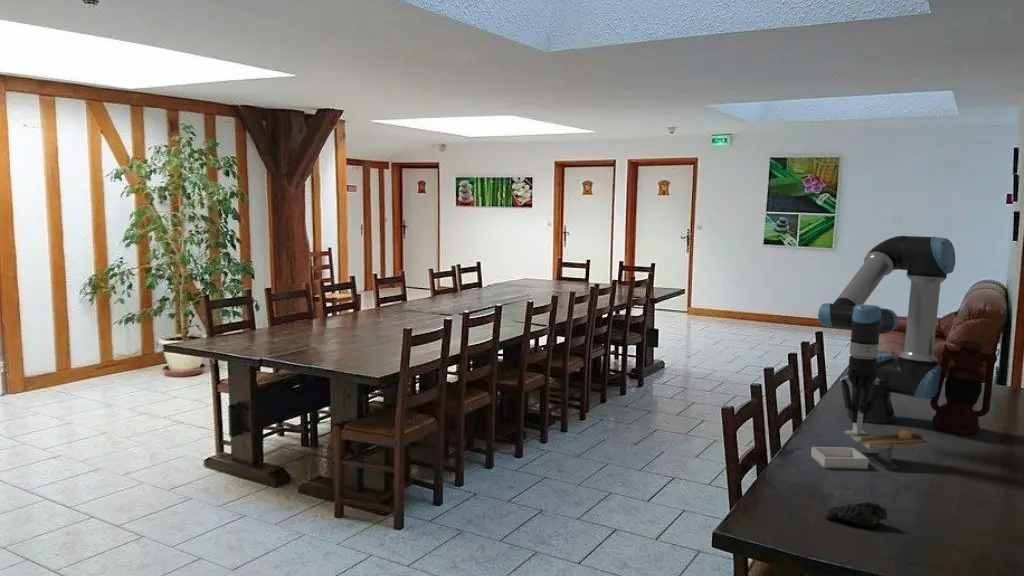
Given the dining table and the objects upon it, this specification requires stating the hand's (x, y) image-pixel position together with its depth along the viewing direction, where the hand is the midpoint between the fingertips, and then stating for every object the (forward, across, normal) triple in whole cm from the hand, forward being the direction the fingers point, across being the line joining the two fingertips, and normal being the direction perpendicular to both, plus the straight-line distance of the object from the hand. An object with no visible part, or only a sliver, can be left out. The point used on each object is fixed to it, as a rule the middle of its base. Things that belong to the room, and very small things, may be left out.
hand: (857, 433), depth 218 cm
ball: (-2, +10, -8) cm, 13 cm away
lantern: (+4, +45, +26) cm, 52 cm away
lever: (+1, +6, -4) cm, 8 cm away
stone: (+7, -22, -48) cm, 53 cm away
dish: (+7, -9, -8) cm, 14 cm away
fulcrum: (+6, +4, -8) cm, 11 cm away
